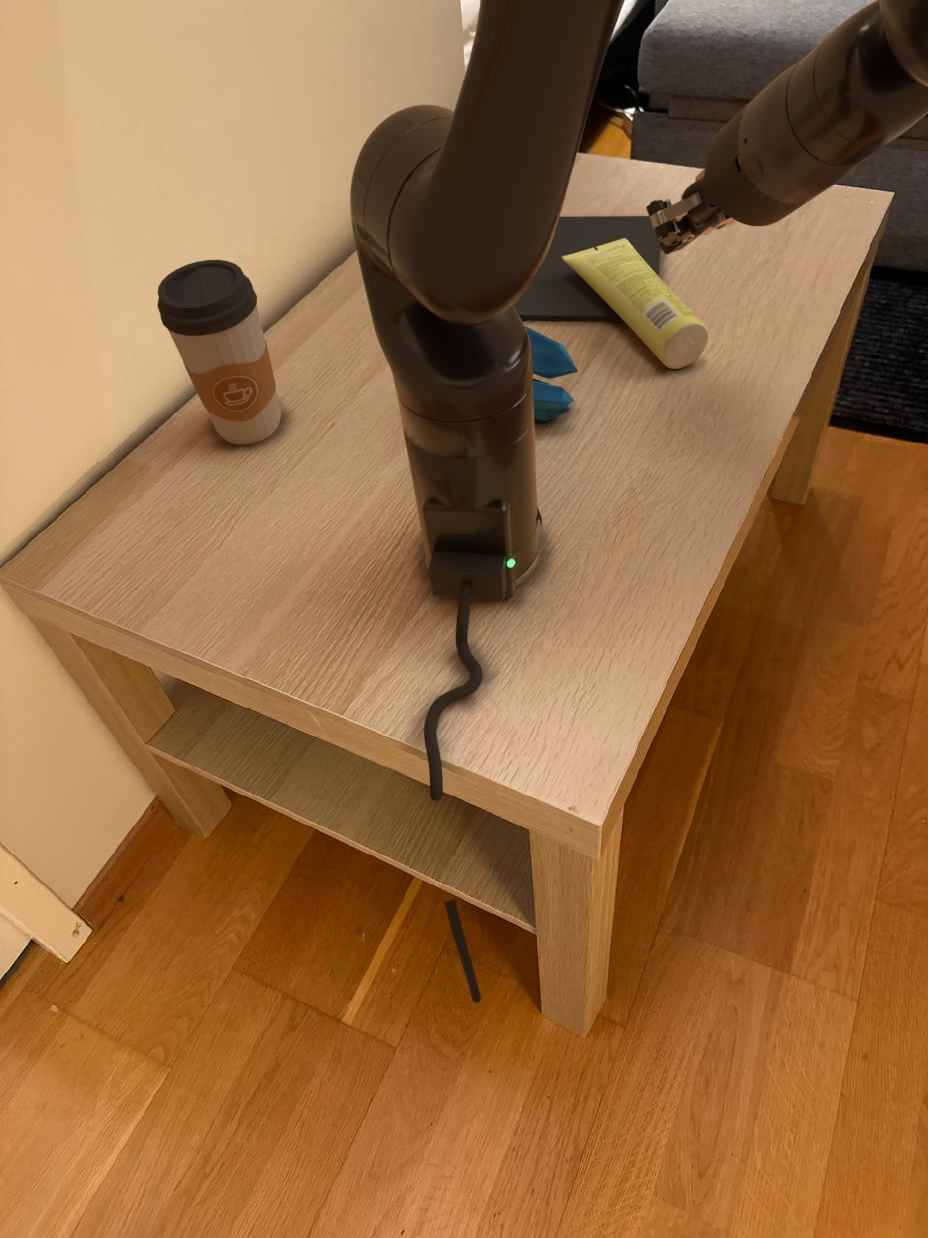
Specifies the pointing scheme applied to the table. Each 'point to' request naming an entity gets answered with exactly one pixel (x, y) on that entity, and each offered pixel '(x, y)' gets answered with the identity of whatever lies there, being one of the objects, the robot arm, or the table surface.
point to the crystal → (549, 376)
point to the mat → (565, 289)
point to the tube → (642, 301)
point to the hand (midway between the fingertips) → (667, 240)
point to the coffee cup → (222, 347)
